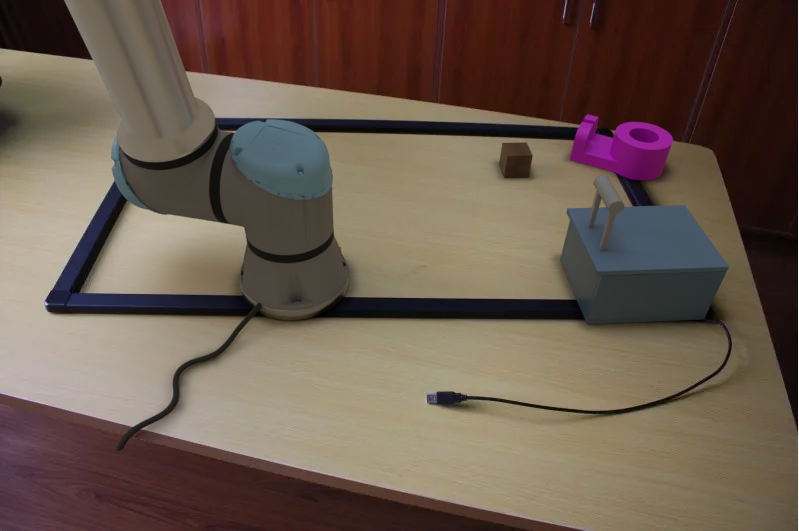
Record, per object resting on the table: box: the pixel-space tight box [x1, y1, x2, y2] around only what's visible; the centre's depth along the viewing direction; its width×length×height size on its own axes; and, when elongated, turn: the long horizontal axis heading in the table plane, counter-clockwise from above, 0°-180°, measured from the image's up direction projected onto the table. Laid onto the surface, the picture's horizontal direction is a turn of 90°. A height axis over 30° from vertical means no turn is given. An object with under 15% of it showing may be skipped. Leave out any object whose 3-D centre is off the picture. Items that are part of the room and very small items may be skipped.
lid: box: [566, 174, 730, 276], centre depth 84 cm, size 17×14×9 cm
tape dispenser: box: [569, 113, 674, 181], centre depth 118 cm, size 16×10×6 cm, turn 62°
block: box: [498, 141, 534, 179], centre depth 115 cm, size 4×4×4 cm
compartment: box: [559, 220, 727, 325], centre depth 90 cm, size 17×14×9 cm
